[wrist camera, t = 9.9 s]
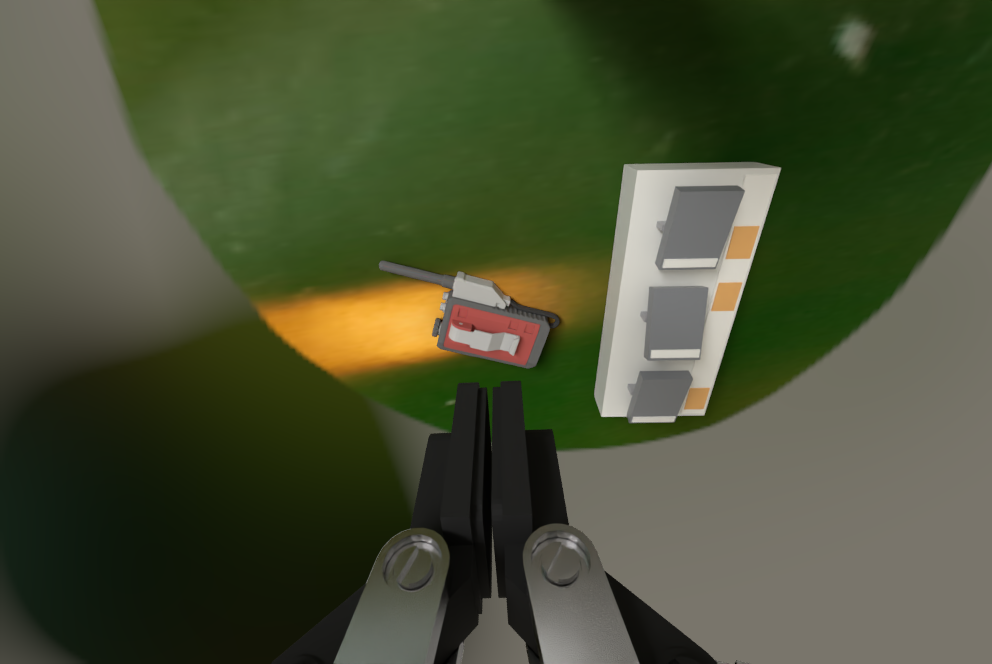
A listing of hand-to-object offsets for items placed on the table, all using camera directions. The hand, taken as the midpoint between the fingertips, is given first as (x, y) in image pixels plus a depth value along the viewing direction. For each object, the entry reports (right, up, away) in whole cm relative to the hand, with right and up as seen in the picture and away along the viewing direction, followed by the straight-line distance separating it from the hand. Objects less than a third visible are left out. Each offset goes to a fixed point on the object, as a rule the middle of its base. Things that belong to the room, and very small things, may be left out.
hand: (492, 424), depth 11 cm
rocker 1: (+17, +11, +23) cm, 31 cm away
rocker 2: (+17, +3, +27) cm, 32 cm away
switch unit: (+18, +6, +33) cm, 38 cm away
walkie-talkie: (-3, +5, +34) cm, 35 cm away
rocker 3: (+17, -5, +32) cm, 36 cm away
